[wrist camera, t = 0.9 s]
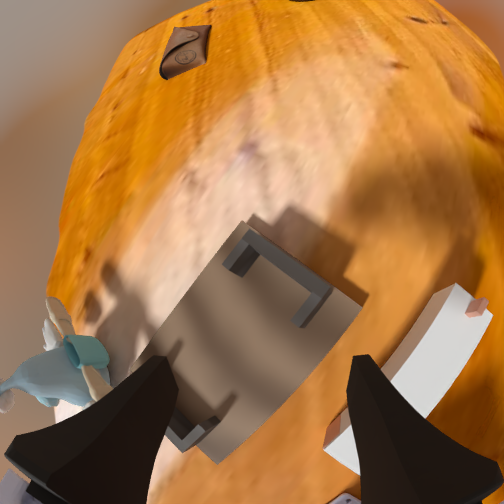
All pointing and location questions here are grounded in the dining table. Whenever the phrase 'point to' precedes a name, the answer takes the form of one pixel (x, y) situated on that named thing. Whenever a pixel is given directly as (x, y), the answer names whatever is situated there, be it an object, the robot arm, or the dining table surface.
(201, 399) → the cradle jig
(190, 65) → the sunglasses case
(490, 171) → the dining table surface
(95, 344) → the toy figure
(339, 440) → the white rectangular block
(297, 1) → the candlestick
